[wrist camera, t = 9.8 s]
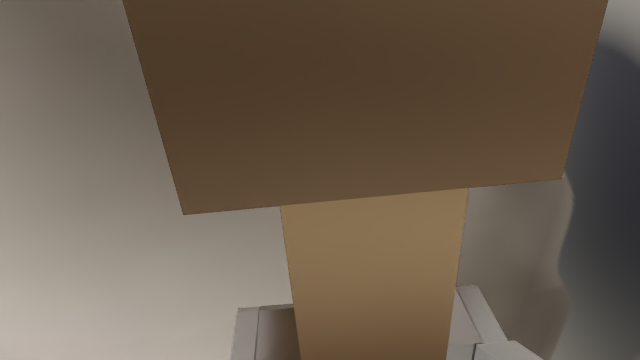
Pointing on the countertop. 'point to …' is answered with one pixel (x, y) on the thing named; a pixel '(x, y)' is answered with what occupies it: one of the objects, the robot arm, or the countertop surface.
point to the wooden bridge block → (364, 138)
